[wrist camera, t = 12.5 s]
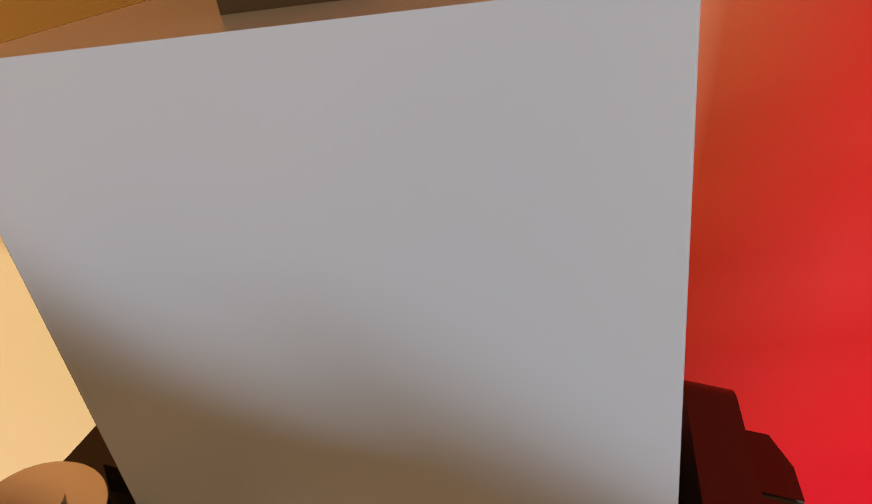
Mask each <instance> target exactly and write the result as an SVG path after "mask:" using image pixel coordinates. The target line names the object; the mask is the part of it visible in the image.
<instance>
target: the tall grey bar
mask: <svg viewBox="0 0 872 504" xmlns="http://www.w3.org/2000/svg"><path fill="white" fill-rule="evenodd" d="M700 3H701V0H148V1H144V2H141V3H137V4H134V5H130V6H127V7H124V8H120V9H117V10H113V11H110V12H106V13H103V14H100V15H96V16H93V17H89V18H86V19H82V20H79V21H75V22H72V23H69V24H65V25H62V26H58V27H55V28H51V29H48V30H45V31H41V32H38V33H34V34H31V35H27V36H24V37H20V38H17V39H14V40H10V41H7V42H3V43H0V236H1V238H2V240H3V242H4V244H5V246H6V248H7V250H8V252H9V254H10V256H11V258H12V259H13V261H14V263H15V265H16V267H17V269H18V271H19V273H20V275H21V277H22V279H23V281H24V283H25V285H26V287H27V289H28V291H29V293H30V295H31V297H32V299H33V301H34V303H35V305H36V307H37V309H38V311H39V313H40V315H41V317H42V319H43V321H44V323H45V325H46V327H47V329H48V331H49V333H50V335H51V337H52V339H53V340H54V342H55V344H56V346H57V348H58V350H59V352H60V354H61V356H62V358H63V360H64V362H65V364H66V366H67V368H68V370H69V372H70V374H71V376H72V378H73V380H74V382H75V384H76V386H77V388H78V390H79V392H80V394H81V396H82V398H83V400H84V402H85V404H86V406H87V408H88V410H89V412H90V414H91V416H92V418H93V420H94V422H95V423H96V425H97V427H98V429H99V431H100V433H101V435H102V437H103V439H104V441H105V443H106V445H107V447H108V449H109V451H110V453H111V455H112V457H113V459H114V461H115V463H116V465H117V467H118V469H119V471H120V473H121V475H122V477H123V479H124V481H125V483H126V485H127V487H128V489H129V491H130V493H131V495H132V497H133V499H134V501H135V503H136V504H678V496H679V474H680V451H681V429H682V407H683V384H684V362H685V339H686V317H687V294H688V272H689V250H690V227H691V205H692V182H693V160H694V137H695V115H696V93H697V70H698V48H699V25H700Z"/></svg>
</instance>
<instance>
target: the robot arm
mask: <svg viewBox="0 0 872 504" xmlns="http://www.w3.org/2000/svg"><path fill="white" fill-rule="evenodd" d="M804 502H805V501H804V498H803V495H802V491H801V488H800V485H799V482H798V479H797V476H796V473H795V470H794V467H793V466H792V465H791V463H790V462H789V461H788V459H787V458H786V457H785V456H784V454H783V453H782V452H781V450H780V449H779V448H778V447H777V445H776V444H775V443H774V442H773V440H772V439H771V438H770V436H769V435H766V434H762V433H757V432H752V431H747V430H745V427H744V423H743V419H742V415H741V411H740V407H739V404H738V400H737V397H736V394H735V392H734V391H733V390H730V389H725V388H720V387H715V386H710V385H705V384H700V383H695V382H690V381H685V380H684V384H683V407H682V429H681V451H680V474H679V496H678V504H804ZM0 504H136V503H135V501H134V499H133V497H132V495H131V493H130V491H129V489H128V487H127V485H126V483H125V481H124V479H123V477H122V475H121V473H120V471H119V469H118V467H117V465H116V463H115V461H114V459H113V457H112V455H111V453H110V451H109V449H108V447H107V445H106V443H105V441H104V439H103V437H102V435H101V433H100V431H99V429H98V427H97V425H96V426H95V427H94V428H93V429H92V431H91V432H90V433H89V434H88V435H87V436H86V437H85V438H84V439H83V440H82V442H81V443H80V444H79V445H78V446H77V447H76V448H75V449H74V450H73V451H72V453H71V454H70V455H69V456H68V457H67V458H66V459H65V460H64V461H59V462H49V463H43V464H39V465H36V466H32V467H29V468H27V469H24V470H21V471H19V472H17V473H15V474H13V475H11V476H9V477H7V478H6V479H4V480H2V481H1V482H0Z"/></svg>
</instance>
